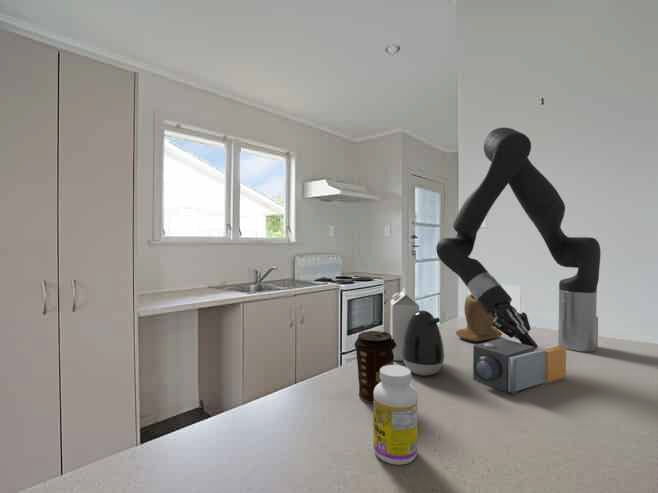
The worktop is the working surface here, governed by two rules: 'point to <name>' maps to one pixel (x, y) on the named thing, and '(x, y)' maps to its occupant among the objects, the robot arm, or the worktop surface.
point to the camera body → (495, 361)
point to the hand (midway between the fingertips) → (533, 349)
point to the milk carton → (400, 319)
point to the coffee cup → (372, 360)
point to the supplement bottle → (395, 416)
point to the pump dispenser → (423, 344)
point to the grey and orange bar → (536, 368)
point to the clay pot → (477, 322)
